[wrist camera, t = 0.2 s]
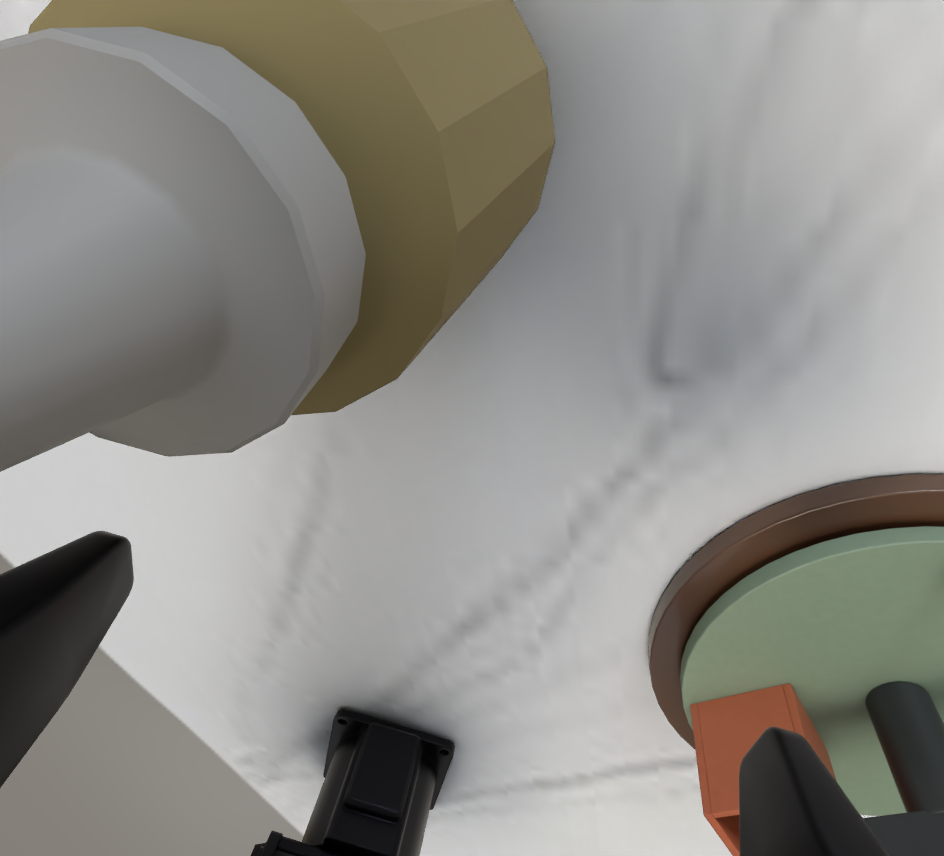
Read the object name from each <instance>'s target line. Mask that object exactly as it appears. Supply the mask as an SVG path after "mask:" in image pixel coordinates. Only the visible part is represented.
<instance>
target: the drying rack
mask: <svg viewBox="0 0 944 856" xmlns="http://www.w3.org/2000/svg"><path fill="white" fill-rule="evenodd" d="M680 682H681V691H682V699H683V708H684V711H685V714H686V717H687V720H688V723H689V725H690V726H691V728H692V730H693V733H694V741H695V749H696V757H697V765H698V773H699V781H700V789H701V797H702V805H703V813H704V816H705V817H706V819H707V820H708V822H709V823H710V824H711V826H712V827H713V828H714V830H715V831H716V833H717V834H718V835H719V837H720V838H721V840H722V841H723V842H724V844H725V845H726V847H727V848H728V849H729V851H730V852H731V854H732V855H733V856H740V830H739V769H740V765H741V762H742V759H743V757H744V756H745V754H746V753H747V752H748V751H749V750H750V748H751V747H752V746H753V745H754V743H755V742H756V741H757V740H758V738H759V737H760V736H761V735H762V733H763V732H764V731H765V730H766V729H767V728H769V727H772V726H774V727H779V728H782V729H786V730H789V731H792V732H796V733H798V734H800V735H802V736H803V737H804V738H805V739H806V740H807V741H808V743H809V744H810V745H811V747H812V748H813V750H814V751H815V752H816V754H817V755H818V757H819V758H820V759H821V761H822V762H823V764H824V765H825V766H826V768H827V769H828V771H829V772H830V773H831V775H832V776H833V778H834V779H835V780H836V782H837V783H838V785H839V786H840V787H841V789H842V790H843V792H844V793H845V794H846V796H847V797H848V799H849V800H850V801H851V803H852V804H853V806H854V807H855V808H856V810H857V811H858V813H859V814H861V815H873V816H877V817H870V818H863V820H864V821H865V822H866V824H867V825H868V826H869V828H870V829H871V831H872V832H873V833H874V835H875V836H876V838H877V839H878V840H879V842H880V843H881V845H882V846H883V847H884V849H885V850H886V852H887V853H888V854H889V856H944V527H931V526H921V527H906V528H890V529H883V530H877V531H870V532H864V533H857V534H852V535H848V536H844V537H840V538H836V539H832V540H828V541H824V542H821V543H818V544H815V545H812V546H810V547H807V548H804V549H801V550H798V551H795V552H793V553H790V554H788V555H786V556H784V557H782V558H780V559H777V560H775V561H773V562H771V563H769V564H767V565H765V566H763V567H762V568H760V569H758V570H757V571H755V572H753V573H752V574H750V575H748V576H747V577H745V578H743V579H742V580H741V581H739V582H738V583H737V584H736V585H734V586H733V587H732V588H730V589H729V590H728V591H726V592H725V593H724V594H723V595H722V596H721V597H720V598H719V599H718V600H717V601H716V602H715V603H714V604H713V605H712V606H711V607H710V608H709V609H708V610H707V611H706V613H705V614H704V615H703V617H702V618H701V619H700V621H699V622H698V623H697V625H696V626H695V628H694V630H693V632H692V634H691V636H690V638H689V640H688V642H687V644H686V647H685V650H684V654H683V657H682V661H681V671H680Z"/></svg>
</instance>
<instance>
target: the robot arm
mask: <svg viewBox="0 0 944 856" xmlns="http://www.w3.org/2000/svg"><path fill="white" fill-rule="evenodd" d="M133 579H134V576H133V565H132V553H131V544H130V542H129V540H128V539H127V538H125V537H123V536H119V535H116V534H112V533H109V532H105V531H97V532H93V533H90V534H88V535H86V536H84V537H82V538H79V539H77V540H75V541H73V542H71V543H68V544H66V545H64V546H62V547H60V548H57V549H55V550H53V551H51V552H49V553H46V554H44V555H42V556H40V557H38V558H35V559H33V560H31V561H29V562H27V563H25V564H22V565H20V566H18V567H16V568H14V569H11V570H9V571H7V572H5V573H3V574H0V788H1V786H2V785H3V783H4V782H5V781H6V779H7V778H8V777H9V775H10V774H11V773H12V771H13V770H14V769H15V767H16V766H17V765H18V763H19V762H20V761H21V759H22V758H23V756H24V755H25V754H26V753H27V751H28V750H29V748H30V747H31V746H32V744H33V743H34V742H35V740H36V739H37V738H38V736H39V735H40V733H41V732H42V731H43V730H44V728H45V727H46V726H47V724H48V723H49V722H50V720H51V719H52V718H53V716H54V715H55V714H56V712H57V711H58V709H59V708H60V707H61V705H62V704H63V702H64V701H65V699H66V698H67V697H68V695H69V694H70V692H71V691H72V689H73V687H74V686H75V684H76V683H77V681H78V680H79V678H80V676H81V675H82V673H83V671H84V670H85V668H86V666H87V665H88V663H89V661H90V660H91V658H92V656H93V654H94V653H95V651H96V649H97V648H98V646H99V644H100V643H101V641H102V639H103V638H104V636H105V634H106V633H107V631H108V629H109V628H110V626H111V624H112V623H113V621H114V619H115V618H116V616H117V614H118V613H119V611H120V609H121V608H122V606H123V604H124V603H125V601H126V599H127V597H128V596H129V594H130V591H131V589H132V586H133ZM454 750H455V745H454V743H452V742H451V741H449V740H446V739H443V738H439V737H436V736H433V735H429V734H426V733H422V732H419V731H416V730H412V729H409V728H406V727H402V726H399V725H396V724H392V723H389V722H386V721H382V720H379V719H375V718H372V717H369V716H365V715H362V714H359V713H355V712H352V711H349V710H344V709H341V710H338V711H337V712H336V715H335V717H334V721H333V726H332V732H331V737H330V742H329V748H328V753H327V759H326V764H325V769H324V778H325V780H324V783H323V786H322V788H321V791H320V794H319V796H318V799H317V802H316V805H315V807H314V810H313V813H312V815H311V818H310V821H309V824H308V826H307V829H306V832H305V834H304V837H303V840H302V842H300V841H296V840H293V839H290V838H287V837H284V836H283V834H281V833H278V832H275V831H272V832H271V834H270V836H269V838H268V840H267V842H266V843H263V844H256V845H255V847H254V849H253V852H252V854H251V856H419V855H420V850H421V846H422V841H423V837H424V832H425V828H426V823H427V819H428V814H429V810H432V809H433V808H434V805H435V803H436V800H437V797H438V795H439V792H440V789H441V787H442V784H443V781H444V779H445V776H446V773H447V771H448V768H449V765H450V763H451V760H452V757H453V755H454ZM739 830H740V856H889V854H888V853H887V852H886V850H885V849H884V847H883V846H882V845H881V843H880V842H879V840H878V839H877V838H876V836H875V835H874V833H873V832H872V831H871V829H870V828H869V826H868V825H867V824H866V822H865V821H864V820H863V818H862V817H861V815H860V814H859V813H858V811H857V810H856V808H855V807H854V806H853V804H852V803H851V801H850V800H849V799H848V797H847V796H846V794H845V793H844V792H843V790H842V789H841V787H840V786H839V785H838V783H837V782H836V780H835V779H834V778H833V776H832V775H831V773H830V772H829V771H828V769H827V768H826V766H825V765H824V764H823V762H822V761H821V759H820V758H819V757H818V755H817V754H816V752H815V751H814V750H813V748H812V747H811V745H810V744H809V743H808V741H807V740H806V739H805V738H804V737H803V736H802V735H800V734H798V733H796V732H792V731H789V730H786V729H782V728H779V727H774V726H772V727H769V728H767V729H766V730H765V731H764V732H763V733H762V735H761V736H760V737H759V738H758V740H757V741H756V742H755V743H754V745H753V746H752V747H751V748H750V750H749V751H748V752H747V753H746V754H745V756H744V757H743V759H742V762H741V765H740V769H739Z"/></svg>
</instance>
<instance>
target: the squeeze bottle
mask: <svg viewBox="0 0 944 856" xmlns="http://www.w3.org/2000/svg"><path fill="white" fill-rule="evenodd" d="M554 144H555V137H554V128H553V119H552V110H551V101H550V92H549V83H548V73H547V66H546V64H545V62H544V60H543V59H542V57H541V55H540V53H539V51H538V49H537V47H536V45H535V43H534V41H533V39H532V37H531V35H530V33H529V31H528V29H527V28H526V26H525V24H524V22H523V20H522V18H521V16H520V14H519V12H518V10H517V8H516V6H515V4H514V2H513V0H52V1H51V2H50V3H49V5H48V6H47V7H46V8H45V9H44V10H43V11H42V13H41V14H40V15H39V16H38V17H37V18H36V19H35V21H34V22H33V23H32V24H31V25H30V28H29V33H28V34H26V35H22V36H18V37H14V38H10V39H6V40H2V41H0V472H1V471H3V470H5V469H7V468H10V467H12V466H14V465H16V464H19V463H21V462H23V461H25V460H28V459H30V458H32V457H34V456H37V455H39V454H41V453H43V452H46V451H48V450H50V449H52V448H55V447H57V446H59V445H61V444H64V443H66V442H68V441H70V440H73V439H75V438H77V437H79V436H82V435H84V434H86V433H88V432H90V433H92V434H93V435H95V436H97V437H99V438H103V439H107V440H110V441H114V442H117V443H121V444H124V445H128V446H132V447H135V448H139V449H142V450H146V451H150V452H153V453H157V454H160V455H164V456H184V455H199V454H214V453H229V452H233V451H235V450H237V449H239V448H241V447H242V446H244V445H246V444H248V443H250V442H252V441H253V440H255V439H257V438H259V437H261V436H262V435H264V434H266V433H268V432H270V431H272V430H273V429H275V428H277V427H279V426H281V425H282V424H284V423H285V422H286V421H287V419H288V418H289V417H290V416H291V415H299V414H312V413H324V412H336V411H338V410H340V409H342V408H344V407H345V406H347V405H349V404H351V403H353V402H355V401H357V400H358V399H360V398H362V397H364V396H366V395H368V394H370V393H371V392H373V391H375V390H377V389H379V388H381V387H383V386H385V385H386V384H388V383H390V382H392V381H394V380H396V379H397V378H398V377H399V376H400V375H401V374H402V372H403V371H404V370H405V369H406V368H407V367H408V365H409V364H410V363H411V362H412V361H413V360H414V359H415V357H416V356H417V355H418V354H419V353H420V352H421V350H422V349H423V348H424V347H425V346H426V345H427V343H428V342H429V341H430V340H431V339H432V338H433V337H434V335H435V334H436V333H437V332H438V331H439V330H440V328H441V327H442V326H443V325H444V324H445V323H446V321H447V320H448V319H449V318H450V317H451V316H452V315H453V313H454V312H455V311H456V310H457V309H458V308H459V306H460V305H461V304H462V303H463V302H464V301H465V299H466V298H467V297H468V296H469V295H470V294H471V293H472V291H473V290H474V289H475V288H476V287H477V286H478V284H479V283H480V282H481V281H482V280H483V279H484V277H485V276H486V275H487V274H488V273H489V272H490V271H491V269H492V268H493V267H494V266H495V265H496V264H497V262H498V261H499V260H500V259H501V258H502V256H503V255H504V254H505V252H506V251H507V250H508V248H509V247H510V245H511V244H512V243H513V241H514V240H515V239H516V237H517V236H518V235H519V233H520V232H521V231H522V229H523V228H524V227H525V225H526V224H527V223H528V221H529V220H530V219H531V217H532V216H533V215H534V213H535V212H536V211H537V209H538V206H539V202H540V198H541V194H542V190H543V186H544V183H545V179H546V175H547V171H548V167H549V164H550V160H551V156H552V152H553V148H554Z"/></svg>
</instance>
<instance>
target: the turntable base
mask: <svg viewBox="0 0 944 856" xmlns="http://www.w3.org/2000/svg"><path fill="white" fill-rule="evenodd" d="M921 526H931V527H944V474H910V475H898V476H886V477H875V478H869V479H863V480H858V481H852V482H846V483H841V484H836V485H833V486H829V487H825V488H822V489H818V490H814V491H811V492H807V493H803V494H801V495H798V496H795V497H793V498H790V499H787V500H785V501H782V502H780V503H777V504H774V505H772V506H769V507H767V508H765V509H763V510H761V511H759V512H757V513H755V514H753V515H751V516H749V517H747V518H745V519H743V520H741V521H740V522H738V523H737V524H735V525H734V526H732V527H730V528H729V529H727V530H726V531H724V532H723V533H721V534H720V535H718V536H717V537H715V538H714V539H713V540H711V541H710V542H709V543H708V544H707V545H705V546H704V547H703V548H702V549H701V550H699V551H698V552H697V553H696V554H695V555H693V557H692V558H691V559H690V560H689V561H688V562H687V563H686V564H685V565H684V566H683V568H682V569H681V570H680V571H679V572H678V573H677V574H676V576H675V577H674V578H673V580H672V581H671V583H670V584H669V586H668V587H667V589H666V590H665V592H664V593H663V595H662V598H661V600H660V602H659V604H658V606H657V609H656V611H655V613H654V616H653V620H652V624H651V628H650V632H649V649H648V654H649V668H650V675H651V682H652V687H653V690H654V693H655V695H656V698H657V701H658V704H659V705H660V707H661V709H662V711H663V712H664V714H665V716H666V718H667V719H668V721H669V722H670V724H671V725H672V726H673V727H674V729H675V730H676V731H677V732H678V733H679V735H680V736H681V737H682V738H683V739H684V740H685V741H686V742H687V743H689V744H690V745H691V746H692V747H693V748H694V749H695V741H694V733H693V730H692V728H691V726H690V725H689V723H688V720H687V717H686V714H685V711H684V708H683V699H682V691H681V682H680V671H681V661H682V657H683V654H684V650H685V647H686V644H687V642H688V640H689V638H690V636H691V634H692V632H693V630H694V628H695V626H696V625H697V623H698V622H699V621H700V619H701V618H702V617H703V615H704V614H705V613H706V611H707V610H708V609H709V608H710V607H711V606H712V605H713V604H714V603H715V602H716V601H717V600H718V599H719V598H720V597H721V596H722V595H723V594H724V593H725V592H726V591H728V590H729V589H730V588H732V587H733V586H734V585H736V584H737V583H738V582H739V581H741V580H742V579H743V578H745V577H747V576H748V575H750V574H752V573H753V572H755V571H757V570H758V569H760V568H762V567H763V566H765V565H767V564H769V563H771V562H773V561H775V560H777V559H780V558H782V557H784V556H786V555H788V554H790V553H793V552H795V551H798V550H801V549H804V548H807V547H810V546H812V545H815V544H818V543H821V542H824V541H828V540H832V539H836V538H840V537H844V536H848V535H852V534H857V533H864V532H870V531H877V530H883V529H890V528H906V527H921ZM695 750H696V749H695Z"/></svg>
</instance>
